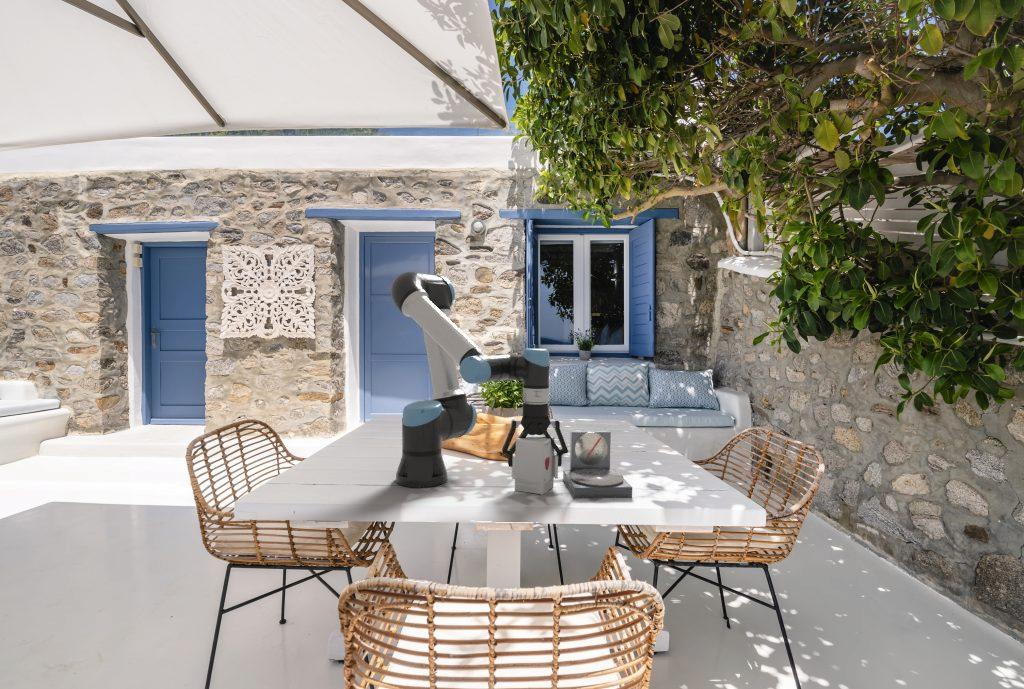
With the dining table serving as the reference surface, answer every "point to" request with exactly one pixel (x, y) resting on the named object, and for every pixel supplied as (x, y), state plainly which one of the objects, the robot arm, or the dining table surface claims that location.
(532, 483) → the supplement box
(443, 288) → the robot arm
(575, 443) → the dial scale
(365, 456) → the dining table surface
